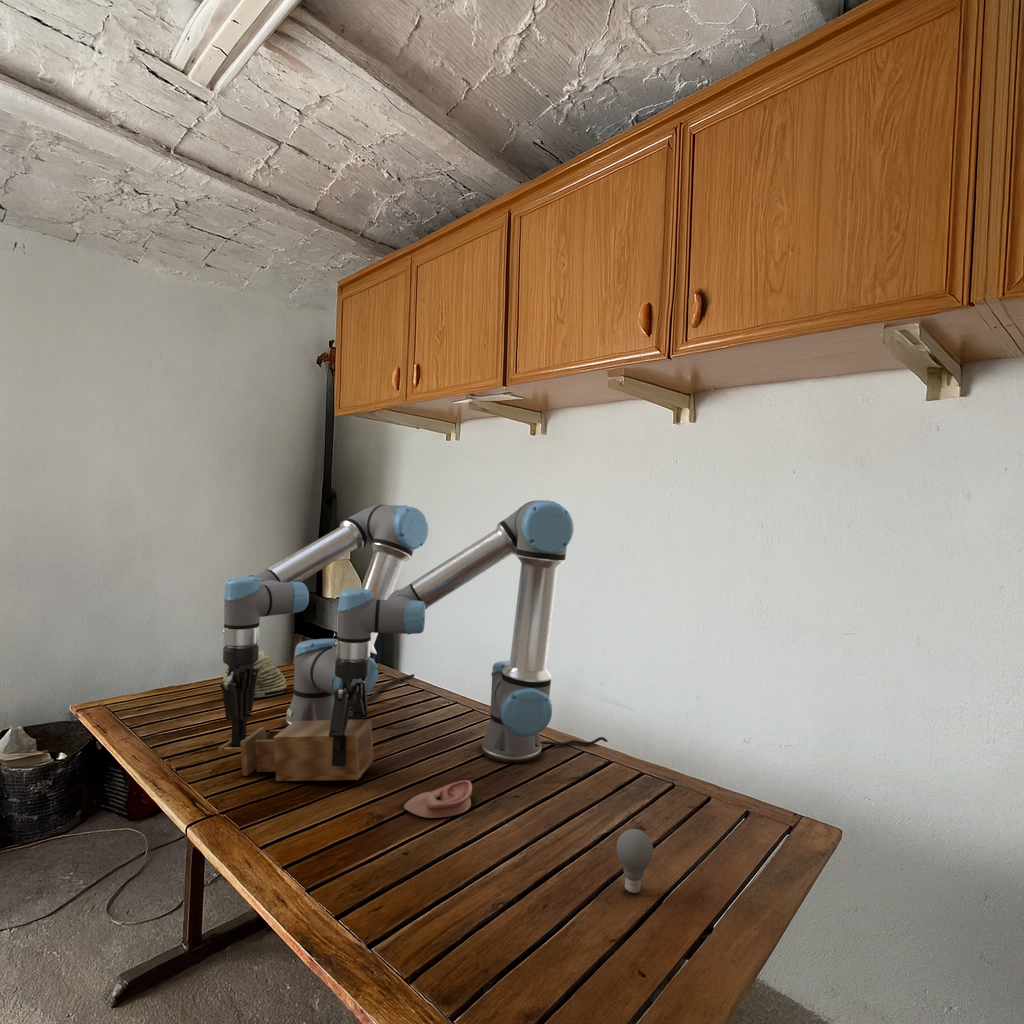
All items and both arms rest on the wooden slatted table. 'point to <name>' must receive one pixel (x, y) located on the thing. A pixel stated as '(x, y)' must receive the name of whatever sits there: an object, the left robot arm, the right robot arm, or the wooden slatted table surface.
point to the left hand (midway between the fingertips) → (238, 746)
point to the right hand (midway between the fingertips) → (347, 755)
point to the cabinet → (321, 751)
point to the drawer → (255, 751)
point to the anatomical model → (442, 801)
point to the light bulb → (634, 857)
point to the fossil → (266, 676)
